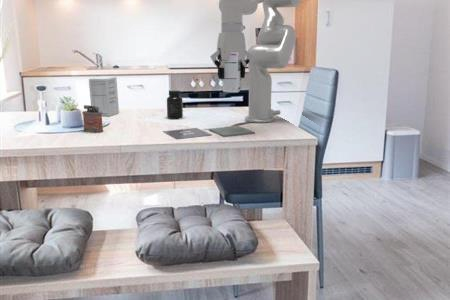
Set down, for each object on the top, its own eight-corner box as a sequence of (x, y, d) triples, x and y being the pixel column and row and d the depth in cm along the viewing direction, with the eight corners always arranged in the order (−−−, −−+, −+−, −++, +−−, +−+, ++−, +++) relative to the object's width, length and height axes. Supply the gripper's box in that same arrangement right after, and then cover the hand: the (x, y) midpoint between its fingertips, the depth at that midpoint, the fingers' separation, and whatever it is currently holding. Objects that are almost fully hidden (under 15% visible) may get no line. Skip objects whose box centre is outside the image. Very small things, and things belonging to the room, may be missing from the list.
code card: (196, 128, 178) (196, 127, 178) (212, 135, 166) (212, 134, 166) (162, 131, 171) (162, 131, 171) (176, 139, 159) (176, 138, 159)
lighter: (105, 131, 172) (103, 105, 170) (100, 133, 169) (98, 106, 167) (87, 129, 175) (85, 104, 172) (81, 131, 172) (79, 105, 169)
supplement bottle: (169, 116, 203) (169, 89, 200) (184, 116, 202) (184, 89, 199) (165, 119, 197) (164, 91, 194) (180, 119, 196) (179, 91, 193)
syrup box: (238, 92, 164) (238, 51, 161) (222, 92, 165) (222, 51, 162) (240, 90, 170) (241, 51, 166) (225, 90, 171) (225, 51, 167)
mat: (237, 127, 180) (237, 125, 180) (255, 133, 169) (255, 131, 169) (208, 130, 174) (208, 128, 174) (224, 136, 163) (224, 135, 163)
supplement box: (119, 113, 211) (117, 76, 207) (110, 116, 202) (108, 78, 198) (100, 112, 213) (98, 76, 209) (90, 115, 204) (88, 78, 200)
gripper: (247, 29, 169) (246, 76, 174) (205, 28, 161) (205, 78, 166) (258, 28, 163) (257, 78, 167) (214, 28, 155) (215, 80, 159)
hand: (231, 77), depth 166 cm, fingers closed on syrup box, 8 cm apart
